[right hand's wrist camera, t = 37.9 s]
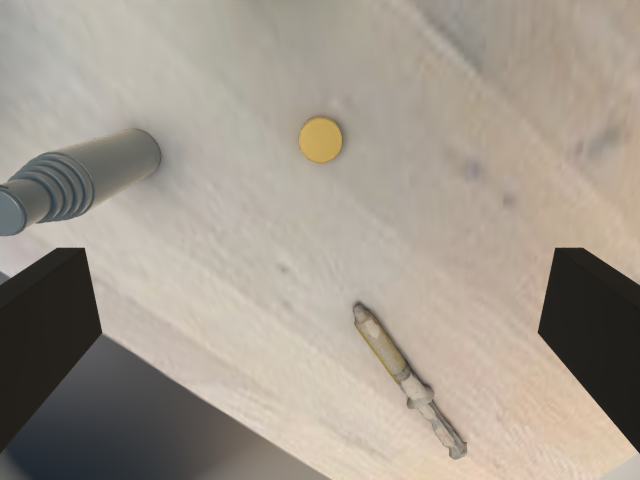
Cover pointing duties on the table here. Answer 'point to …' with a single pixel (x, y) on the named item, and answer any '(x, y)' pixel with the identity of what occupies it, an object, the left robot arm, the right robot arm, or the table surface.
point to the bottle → (75, 179)
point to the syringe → (407, 380)
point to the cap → (320, 139)
